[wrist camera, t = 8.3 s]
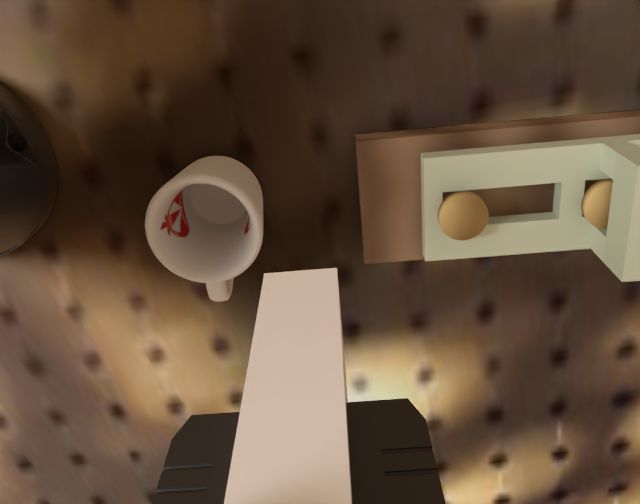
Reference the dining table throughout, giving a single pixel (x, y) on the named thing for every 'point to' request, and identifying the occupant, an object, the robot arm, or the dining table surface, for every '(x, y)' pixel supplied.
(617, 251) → the panel
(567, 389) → the dining table surface
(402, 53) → the dining table surface
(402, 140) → the rail
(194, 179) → the cup
